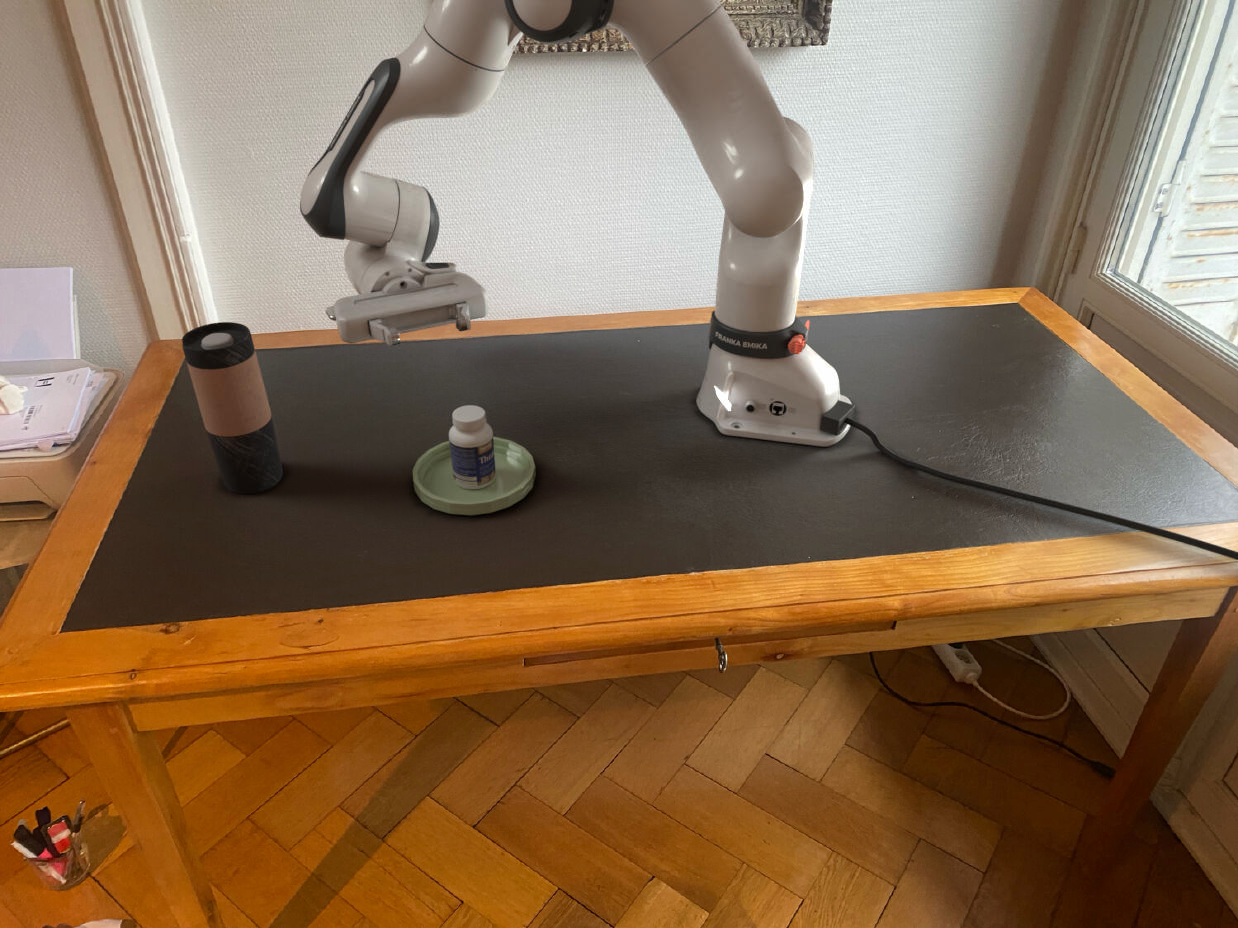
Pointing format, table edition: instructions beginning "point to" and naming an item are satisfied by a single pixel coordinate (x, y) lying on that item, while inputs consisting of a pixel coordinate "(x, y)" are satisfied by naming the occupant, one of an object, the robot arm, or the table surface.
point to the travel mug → (234, 405)
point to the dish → (448, 497)
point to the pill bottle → (472, 448)
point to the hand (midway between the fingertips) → (430, 332)
